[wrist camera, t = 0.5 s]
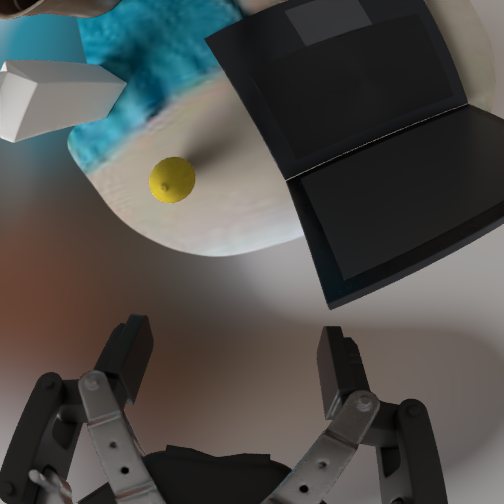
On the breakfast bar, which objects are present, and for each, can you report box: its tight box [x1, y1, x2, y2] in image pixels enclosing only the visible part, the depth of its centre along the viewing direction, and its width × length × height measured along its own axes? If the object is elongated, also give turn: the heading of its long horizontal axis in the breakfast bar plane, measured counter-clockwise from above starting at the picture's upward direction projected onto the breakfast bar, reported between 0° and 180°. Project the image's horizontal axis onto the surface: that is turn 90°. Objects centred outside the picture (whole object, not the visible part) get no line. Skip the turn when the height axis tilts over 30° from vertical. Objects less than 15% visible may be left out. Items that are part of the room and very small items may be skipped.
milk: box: [0, 60, 127, 142], centre depth 23 cm, size 6×6×22 cm
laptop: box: [204, 0, 468, 180], centre depth 30 cm, size 21×30×2 cm
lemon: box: [149, 157, 195, 203], centre depth 35 cm, size 6×6×8 cm
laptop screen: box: [286, 104, 504, 310], centre depth 25 cm, size 21×30×1 cm
